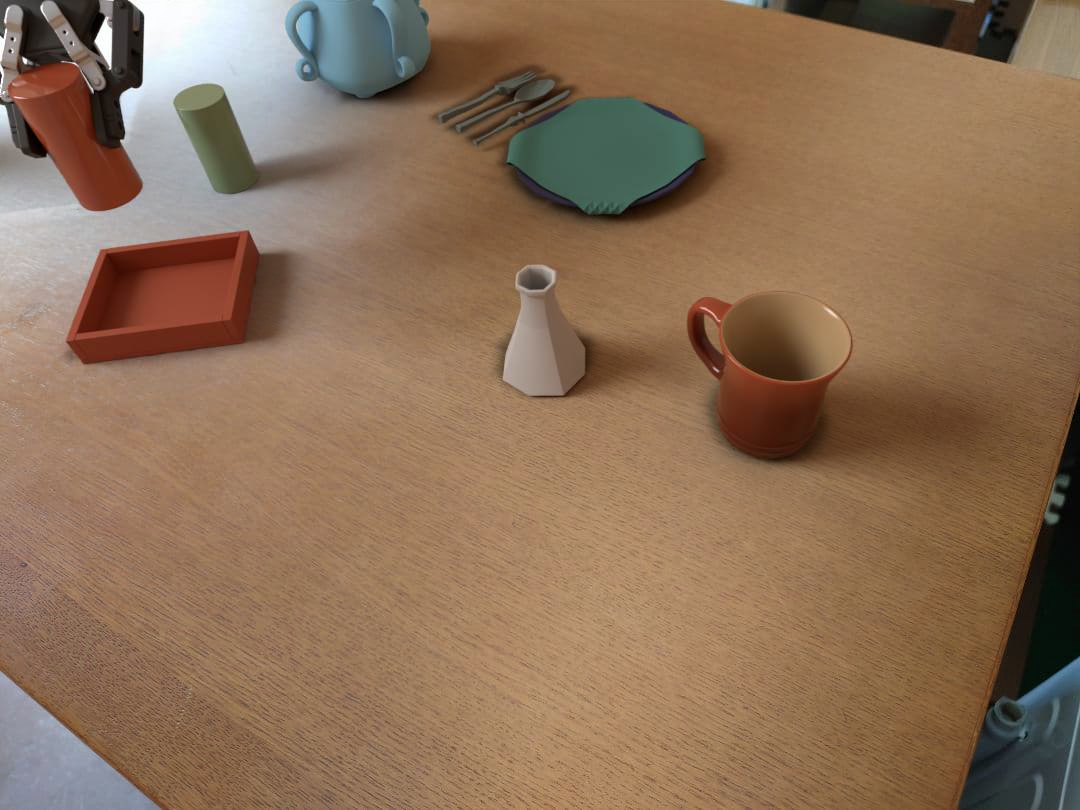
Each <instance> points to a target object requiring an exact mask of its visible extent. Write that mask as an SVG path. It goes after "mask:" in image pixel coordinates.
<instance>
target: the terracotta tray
mask: <svg viewBox="0 0 1080 810" xmlns="http://www.w3.org/2000/svg"><path fill="white" fill-rule="evenodd" d="M259 257H260V252H259V250H258V247H257V245H256V243H255V241H254V238H253V236H252V234H251V232H250V230H249V229H246V230H237V231H230V232H223V233H215V234H208V235H199V236H192V237H185V238H177V239H170V240H168V239H167V240H161V241H154V242H146V243H137V244H130V245H123V246H115V247H108V248H101V249H99V251H98V255H97V258H96V260H95V263H94V265H93V268H92V271H91V273H90V276H89V279H88V281H87V284H86V286H85V289H84V290H83V291H84V292H83V294H82V297H81V300H80V301H79V304H78V307H77V310H76V312H75V315H74V318H73V320H72V324H71V325H70V328H69V331H68V333H67V336H66V338H65V343H66V345H68V347H69V348H70V349H71V350H72V351H73V353H74V354H75V355H76V357H77V358H78V359H79V360H80V362H81V363H82V365H84V364H93V363H100V362H107V361H113V360H124V359H130V358H136V357H137V358H138V357H145V356H153V355H154V356H155V355H160V354H167V353H176V352H183V351H192V350H197V349H205V348H213V347H221V346H228V345H237V344H244V343H245V336H246V330H247V325H248V319H249V314H250V310H251V309H250V308H251V303H252V298H253V297H252V296H253V292H254V287H255V280H256V276H257V270H258V265H259Z"/></svg>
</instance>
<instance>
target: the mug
mask: <svg viewBox="0 0 1080 810" xmlns="http://www.w3.org/2000/svg"><path fill="white" fill-rule="evenodd" d="M705 316H708V317H709V318H710V319H711V320H712V321H713V322H714V323H715V325H716V326H717V328H718V339H719V344H720V347H721V350H722V352H720V351H719V350H718V349H717V348H716V347H715V346H714V345H713V344H712V342H711V341H710V338H709V336H708V334H707V331H706V324H705V323H706V322H705ZM686 331H687V335H688V340H689V343H690V345H691V347H692V349H693V351H694V352H695V354H696V356H697V357H698V358H699V359H700V361H701V362H702V363H703V364H704V366H705V367H706V368H707V370H708V372H710V374H711V375H712V376H713V377H714V378H715V379H717V380H718V382H719V386H718V392H717V396H716V403H715V405H716V417H717V422H718V428H719V430H720V432H721V435H722V436H723V438H724V439H725V440H726V441H727V443H729V444H730V445H731V446H732V447H733V448H734V449H736V450H738V451H739V452H741V453H743V454H745V455H747V456H751V457H754V458H757V459H758V458H759V459H766V460H770V459H773V460H774V459H779V458H784V457H787V456H790V455H792V454H794V453H796V452H798V451H799V450H800V449H801V448H802V447H804V445H805V444H806V442H807V441H808V440H809V439H810V438H811V436H812V434H813V433H814V431H815V429H816V428H817V426H818V423H819V418H820V415H821V412H822V409H823V405H824V402H825V398H826V393H827V391H828V387H829V384H830V383H831V381H833V380H834V378H835V377H836V376H837V375H838V374H839V373H840V372H841V371H842V370H843V369H844V368H845V367H846V365H847V364H848V362H849V360H850V358H851V356H852V352H853V348H854V347H853V346H854V341H853V336H852V335H853V334H852V332H851V329H850V327H849V325H848V324H847V322H846V321H845V319H844V318H843V317H842V316H841V315H840V314H839V313H838V312H837V311H836V310H835V309H834V308H832V306H830V305H828V304H827V303H825V302H823V301H821V300H820V299H817V298H814V297H812V296H810V295H807V294H802V293H799V292H793V291H786V290H785V291H784V290H772V291H763V292H757V293H752V294H749V295H747V296H745V297H743V298H741V299H739V300H737V301H736V302H734V303H733V304H732V303H729V302H726V301H723V300H720V299H719V298H716V297H713V296H703V297H701V298H699V299H698V300H697V301H695V302H694V303H693V304H692V305H691V306H690V307H689V310H688V312H687V317H686Z"/></svg>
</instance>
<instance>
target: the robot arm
mask: <svg viewBox="0 0 1080 810" xmlns="http://www.w3.org/2000/svg"><path fill="white" fill-rule="evenodd" d="M105 20H106V24H107V26H108V27H109V28H110V29H111V56H110V57H111V58H110V59H111V61H110V64H109V63H108V61H107V60H106V58H105V56H104V55H103V53H102V51H101V50H100V47H99V46H98V44H97V43H96V39H97V37H98V35H99V33H100V31H101V29H102V26H103V25H104V23H105ZM0 38H2V39H3V40H2V41H3V42H2V48H1V53H0V67H1V69H2V72H1V71H0V105H1V106H4V107H5V110H6V115H7V119H8V124H9V125H8V126H9V129H10V130H9V131H10V134H11V141H12V142H13V144H14V146H15V147H16V148H17V149H19V150H20V151H21V152H22V154H23V155H25V156H27V157H29V158H32V159H36V160H37V159H42V158H43V159H44V158H47V157H48V154H47V152H46V151H45V149H44V148H43V146H42V145H41V143H40V141H39V140H38V138H37V137H36V135H35V134H34V132H33V131H32V129H31V128H30V126H29V125H28V123H27V122H26V120H25V118H24V117H23V115H22V114H21V112H20V111H19V109H18V108H17V106H16V105H15V103H14V102H13V100H12V99H11V97H10V95H9V94H8V91H7V88H8V85H9V84H10V82H11V81H12V80H13V79H14V78H15V77H17V76H18V75H20V74H21V73H23V72H25V71H27V70H29V69H31V68H34V67H37V66H40V65H44V64H48V63H54V62H69V63H73V64H75V65H77V66H78V67H79V68H80V70H81V72H82V74H83V76H84V77H85V79H86V81H87V83H88V85H89V86H90V88H91V89H92V92H93V93H91V94H89V97H90V103H91V108H92V114H93V119H94V124H95V130H96V135H97V139H98V142H99V143H100V144H101V145H102V146H104V147H107V148H109V149H115V148H120V147H121V143H122V142H121V141H123V140H125V138H126V133H127V132H126V128H125V127H126V126H125V122H124V116H123V111H122V107H121V96H122V95H123V93H125V92H126V91H129V90H130V89H131V88H132V89H139V88H141V87H142V85H143V83H144V51H145V49H144V48H145V14H144V12H143V11H142V10H141V9H140V8H138V7H137V6H136V5H135V4H134V3H133V2H132V1H131V0H0ZM24 59H25V60H26V63H25V62H24Z"/></svg>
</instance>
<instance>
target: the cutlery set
mask: <svg viewBox="0 0 1080 810" xmlns="http://www.w3.org/2000/svg"><path fill="white" fill-rule="evenodd" d="M537 77H539V75H538V73H537V74H535V72H532V71H531V70H529V71H528V72H526V73H524V74H522V75H520V76H516V77H513V78H510V79H508V80H505V81H502V82H500V81H498V84H494V88H493V89H491V90H489V91H487V92H486V93H484V94H483V95H481V96H479V97H477V98H475V99H473V100H471V101H469V102H466V103H464V104H462V105H458V106H456V107H452V108H451V109H449V110H446V111H444V112H441V113H439V114H438V115H437V117H438V122H439V123H441V124H445V123H447V122H448V121H450V120H452V119H454V118H455V117H457V116H459V115H462V114H466V113H467V112H469V111H471V110H473V109H476V108H477V107H479V106H481V105H483V104H484V103H486V102H487V101H488V100H490V99H491V98H493V97H495V96H496V95H499V96H506V95H509V94H512V93H513V92H514V91H516V90H517V91H516V93H515V95H514V99H513V101H510V102H507V103H505V104H502V105H499V106H497V107H495V108H492V109H489V110H487V111H484V112H482V113H480V114H478V115H476V116H474V117H472V118H469V119H468V120H467V119H466V120H465V121H463V122H461V123H457V124H455V131H456V132H457V133H459V134H462V133H464V132H465V131H467V130H469V129H470V128H472V127H474V126H476V125H477V124H479V123H481V122H483V121H485V120H486V119H488V118H490V117H492V116H494V115H496V114H498V113H501V112H502V111H504V110H506V109H509V108H511V107H514V106H515V105H518V104H521V103H533V102H534V103H535V102H536V101H539V100H542V99H543V98H544V97H546V96H547V95H549V93H551V91H552V90H553V88H554V87H555V84H556V81H555V80H552V79H551V78H548V79H540V80H539V79H538V80H535V79H536V78H537ZM534 80H535V81H534ZM532 81H533V82H532ZM570 94H571V91H570V89H567V90H565V91H564V92H562V93H560V94H558V95H556V96H554V97H552V98H551V99H549V100H546V101H545V102H543V103H541V104H539V105H537V106H536V107H534V108H532V109H530V110H528V111H526V112H524V113H522V112H520V111H518V112H517V115H516V116H510V117H509V118H508V119H507V121H505V123H503V124H501V125H500V126H497V127H496V128H494V129H493V130H492V131H491V132H488V133H485V134H484V135H482V136H480V137H478V138H476V139H472V144H473V146H475V147H476V148H478V145H479V144H481V143H482V142H483V141H486V140H487V139H488V138H490V137H491V136H493V135H495V134H497V133H499V132H501V131H503V130H505V129H507V128H509V127H516V126H519V124H520V123H523V124H526V120H527V119H529V118H531V117H534V116H537V115H539V114H540V113H543V112H545V111H546V110H549V109H550V108H553V107H554V106H556V105H558V104H560V103H561V102H563V101H566V100H567V99H568V98H569V96H570ZM705 144H706V143H705V138H704V136H703V134H702V132H701V131H700V130H698V129H697V128H696V127H694V126H692V125H689V123H688V122H686V121H685V120H683V119H682V118H681V117H679V116H678V115H676V114H675V113H673V112H672V111H671V110H667V109H665V108H662V107H659V106H657V105H654V104H650V103H648V102H644V101H643V102H642V101H640V100H639V99H637V98H634V97H630V96H629V97H628V96H626V97H624V96H623V97H622V96H619V97H617V96H616V97H612V96H611V97H591V98H580V99H578V100H577V101H575V102H573V103H571V104H567V105H564V106H562V107H560V108H557V109H554V110H552V111H549V112H547V113H545V114H543V115H541V116H540V117H538V118H537V119H536V120H534V121H533V122H532V123H530V124H529V125H527V126H526V127H525V128H524V129H523V130H520V131H518V132H517V133H515V135H513V136H512V138H511V139H510V140H509V144H508V153H507V159H506V165H509V166H511V167H512V166H513V167H514V169H515V171H516V174H517V177H518V179H519V180H520V181H521V182H522V183H523V184H525V186H526V187H528V189H530V190H531V191H532V192H533V193H534V194H536V195H539V196H540V197H543V198H545V199H547V200H549V201H552V202H554V203H556V204H559V205H564V206H569V207H575V208H579V209H581V210H582V211H583V212H584V213H586V214H587V215H589V216H590V215H620V214H621V213H622V212H623V211H625V210H626V209H627V208H629V207H633V206H638V205H642V204H647V203H650V202H652V201H655V200H657V199H659V198H661V197H664V196H666V195H668V194H670V193H672V192H674V191H675V190H677V189H678V188H679V187H680V186H681V185H682V184H683V183H685V182H686V181H687V180H688V179H689V178H690V177H691V176H692V175H693V173H694V170H695V168H696V166H697V164H698V162H699V163H700V162H704V161H706V160H707V156H706V150H705Z"/></svg>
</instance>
